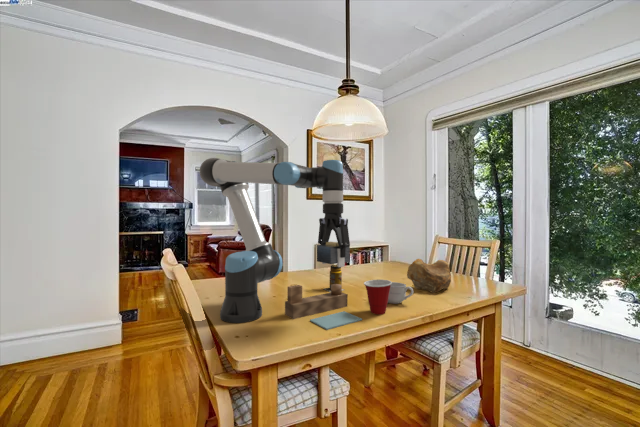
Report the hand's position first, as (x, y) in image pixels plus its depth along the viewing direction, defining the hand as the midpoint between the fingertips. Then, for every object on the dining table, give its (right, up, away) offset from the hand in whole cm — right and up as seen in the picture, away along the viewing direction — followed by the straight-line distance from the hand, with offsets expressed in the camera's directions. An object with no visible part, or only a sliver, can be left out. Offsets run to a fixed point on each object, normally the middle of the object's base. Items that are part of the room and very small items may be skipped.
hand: (333, 264), depth 113 cm
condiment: (+2, -19, +41) cm, 45 cm away
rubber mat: (+1, -20, -2) cm, 20 cm away
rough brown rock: (+52, -20, +42) cm, 69 cm away
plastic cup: (+18, -20, +7) cm, 27 cm away
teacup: (+28, -20, +20) cm, 40 cm away
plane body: (-6, -19, +9) cm, 22 cm away
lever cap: (0, +1, 0) cm, 1 cm away
